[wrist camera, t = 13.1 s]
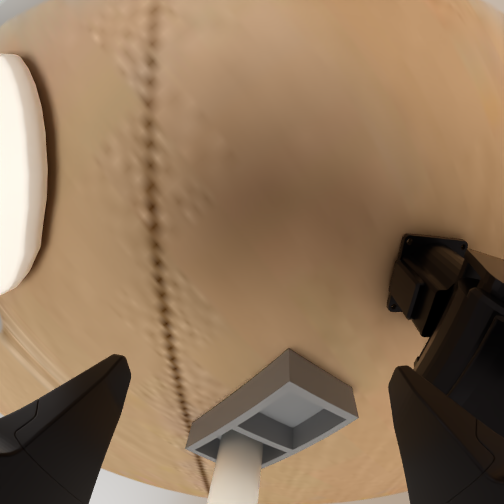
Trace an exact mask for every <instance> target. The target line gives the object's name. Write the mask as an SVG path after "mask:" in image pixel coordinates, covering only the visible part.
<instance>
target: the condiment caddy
mask: <svg viewBox="0 0 504 504" xmlns="http://www.w3.org/2000/svg"><path fill="white" fill-rule="evenodd" d="M358 418H359V417H358V412H357V408H356V403H355V399H354V395H353V390H352V387H350V386H348V385H347V384H345V383H343V382H342V381H340V380H338V379H337V378H335V377H333V376H332V375H330V374H328V373H327V372H325V371H324V370H322V369H320V368H319V367H317V366H315V365H314V364H312V363H311V362H309V361H308V360H306V359H304V358H303V357H301V356H300V355H298V354H297V353H295V352H293V351H292V350H290V349H287V350H286V351H285V352H284V353H283V354H282V355H280V356H279V357H278V358H277V359H276V360H274V361H273V362H272V363H271V364H270V365H268V366H267V367H266V368H265V369H263V370H262V371H261V372H260V373H258V374H257V375H256V376H255V377H253V378H252V379H251V380H250V381H248V382H247V383H246V384H245V385H243V386H242V387H241V388H239V389H238V390H237V391H235V392H234V393H233V394H232V395H230V396H229V397H228V398H226V399H225V400H223V401H222V402H221V403H219V404H218V405H217V406H215V407H214V408H213V409H211V410H210V411H208V412H207V413H206V414H204V415H203V416H201V417H200V418H198V419H197V420H196V421H194V422H193V423H192V426H191V430H190V433H189V437H188V440H187V444H186V447H185V449H187V450H189V451H191V452H193V453H195V454H197V455H200V456H202V457H204V458H206V459H209V460H211V461H213V462H216V459H217V454H218V450H219V445H220V440H221V435H222V434H224V433H226V432H228V431H229V430H231V429H233V430H235V431H237V432H239V433H241V434H244V435H246V436H248V437H250V438H253V439H255V440H257V441H259V442H262V443H263V454H262V465H261V469H262V468H265V467H267V466H269V465H272V464H274V463H276V462H279V461H281V460H283V459H285V458H287V457H289V456H291V455H293V454H295V453H298V452H300V451H302V450H304V449H305V448H307V447H309V446H311V445H313V444H315V443H317V442H319V441H321V440H322V439H324V438H326V437H328V436H329V435H331V434H333V433H335V432H336V431H338V430H340V429H341V428H343V427H345V426H346V425H348V424H350V423H351V422H353V421H354V420H356V419H358Z"/></svg>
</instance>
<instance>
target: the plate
mask: <svg viewBox="0 0 504 504" xmlns="http://www.w3.org/2000/svg"><path fill="white" fill-rule="evenodd" d="M47 176H48V166H47V152H46V132H45V126H44V120H43V112H42V106H41V103H40V99H39V96H38V92H37V88H36V85H35V82H34V80H33V78H32V75H31V73H30V71H29V69H28V67H27V66H26V64H25V63H24V61H23V60H22V59H21V57H20V56H18V55H16V54H0V295H2V294H4V293H6V292H8V291H10V290H12V289H14V288H15V287H17V286H18V285H19V284H20V283H21V281H22V280H23V279H24V278H25V276H26V275H27V274H28V272H29V271H30V269H31V267H32V265H33V262H34V260H35V258H36V256H37V253H38V251H39V249H40V247H41V238H42V229H43V221H44V214H45V207H46V201H47Z"/></svg>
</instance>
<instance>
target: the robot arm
mask: <svg viewBox="0 0 504 504" xmlns="http://www.w3.org/2000/svg"><path fill="white" fill-rule="evenodd" d="M408 239H410V242H409V243H407V240H408ZM462 245H463V247H462V248H461V246H462ZM389 292H390V294H389V298H388V302H387V308H388V310H389V311H390V312H403V313H404V315H405V316H406V318H407V319H408V320H412V321H413V323H414V325H415V326H416V328H417V329H418V331H419V332H420V334H421V336H422V337H430V338H429V340H428V341H427V343H426V345H425V347H424V349H423V351H422V352H421V354H420V356H418V357H417V358H416V360H415V362H414V369H412V368H410V367H409V366H398V367H396V368H395V370H394V373H393V375H392V378H391V380H390V382H389V387H388V388H389V396H390V402H391V409H392V416H393V423H394V429H395V433H396V437H397V441H398V445H399V450H400V454H401V459H402V463H403V468H404V473H405V478H406V483H407V488H408V493H409V499H410V504H504V260H503V259H499V258H496V257H493V256H490V255H487V254H484V253H481V252H478V251H474V250H471V249H468V244H467V242H466V241H464V240H462V239H453V238H445V237H436V236H427V235H418V234H406V235H404V236H403V238H402V242H401V247H400V252H399V257H398V260H397V261H396V262H395V266H394V270H393V275H392V279H391V283H390V287H389ZM393 304H395V305H394V306H393V307H391V306H392V305H393ZM130 380H131V372H130V369H129V366H128V363H127V360H126V358H125V356H123V355H118V354H113V355H111V356H109V357H108V358H106V359H104V360H103V361H101V362H99V363H98V364H96V365H94V366H93V367H91V368H89V369H88V370H86V371H84V372H83V373H81V374H79V375H78V376H76V377H74V378H73V379H71V380H69V381H68V382H66V383H64V384H63V385H61V386H59V387H57V388H56V389H54V390H52V391H51V392H49V393H47V394H46V395H44V396H42V397H40V398H39V399H37V400H35V401H34V402H32V403H30V404H28V405H26V406H25V407H23V408H21V409H19V410H17V411H15V412H13V413H11V414H8V415H6V416H4V417H2V418H0V504H89V501H90V498H91V495H92V492H93V488H94V486H95V483H96V480H97V477H98V474H99V471H100V469H101V466H102V463H103V460H104V457H105V455H106V452H107V449H108V447H109V444H110V441H111V439H112V436H113V433H114V431H115V428H116V426H117V423H118V421H119V418H120V415H121V412H122V409H123V405H124V401H125V398H126V394H127V390H128V387H129V383H130Z"/></svg>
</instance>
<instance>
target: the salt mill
mask: <svg viewBox="0 0 504 504" xmlns="http://www.w3.org/2000/svg"><path fill="white" fill-rule="evenodd" d="M262 454H263V443H262V442H259V441H257V440H255V439H253V438H250V437H248V436H246V435H244V434H241V433H239V432H237V431H235V430H233V429H231V430H229V431H228V432H226V433H224V434H222V435H221V440H220V445H219V450H218V454H217V459H216V463H215V468H214V473H213V477H212V482H211V487H210V491H209V496H208V500H207V504H258V495H259V486H260V475H261V465H262Z"/></svg>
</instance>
